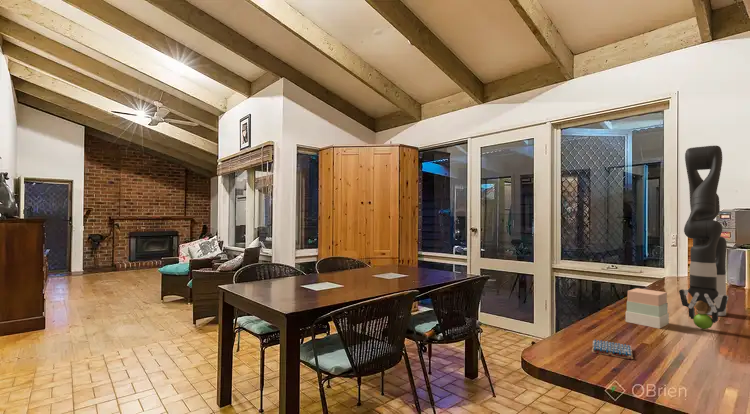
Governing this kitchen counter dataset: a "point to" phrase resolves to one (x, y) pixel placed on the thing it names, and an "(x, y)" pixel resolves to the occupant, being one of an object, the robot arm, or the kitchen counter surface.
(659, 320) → the stacked pastel boxes
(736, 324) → the kitchen counter surface
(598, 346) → the woven mat
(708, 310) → the snail figurine
